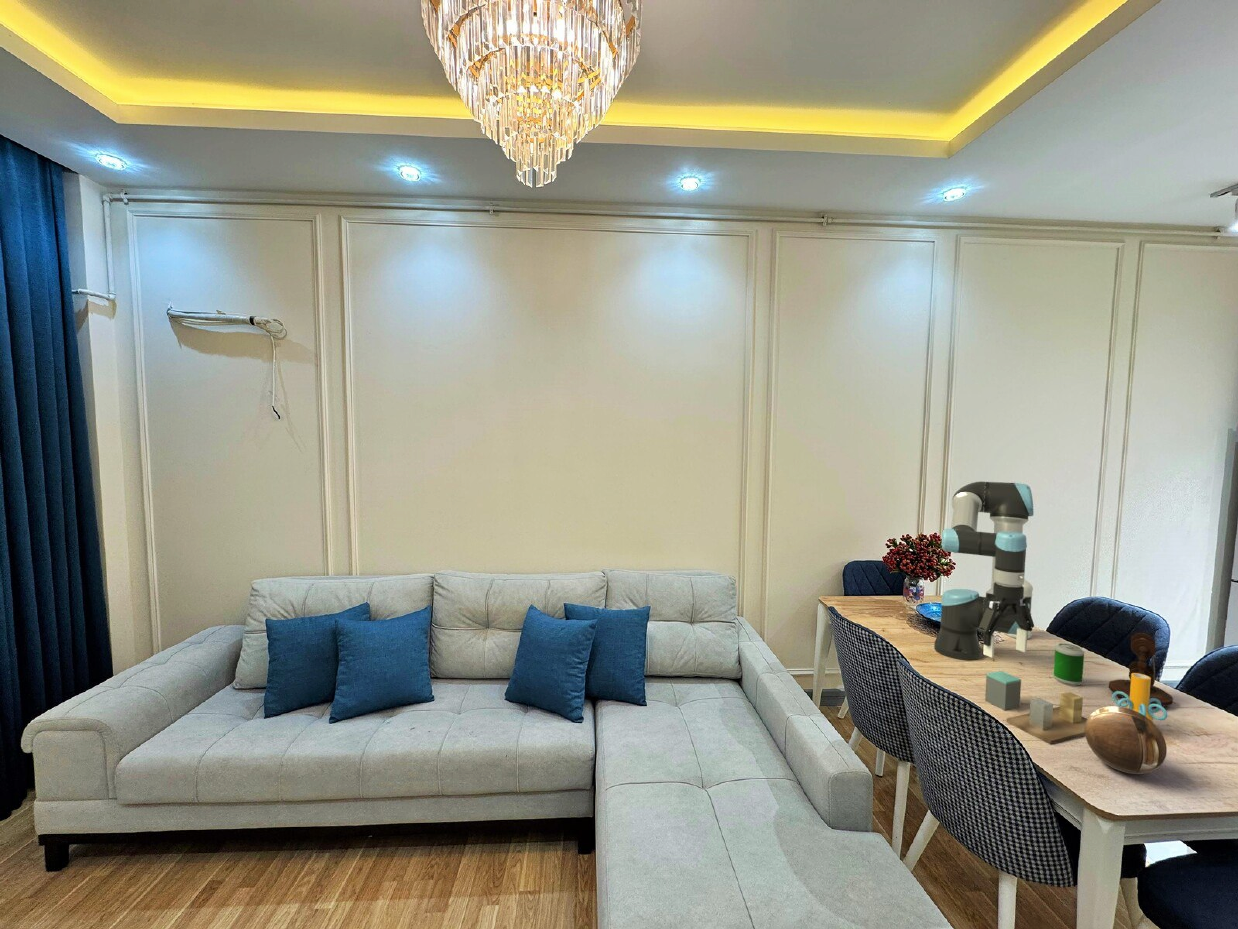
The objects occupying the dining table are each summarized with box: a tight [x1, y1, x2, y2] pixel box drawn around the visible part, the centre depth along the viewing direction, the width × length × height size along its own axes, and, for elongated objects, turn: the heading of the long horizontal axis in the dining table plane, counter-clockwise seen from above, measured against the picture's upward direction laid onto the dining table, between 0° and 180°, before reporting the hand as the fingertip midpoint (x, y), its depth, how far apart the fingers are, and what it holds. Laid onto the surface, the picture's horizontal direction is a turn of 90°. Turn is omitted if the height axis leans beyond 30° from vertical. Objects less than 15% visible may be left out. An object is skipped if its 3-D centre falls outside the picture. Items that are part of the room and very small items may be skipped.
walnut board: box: [1006, 691, 1088, 745], centre depth 158 cm, size 12×22×8 cm, turn 109°
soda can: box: [1053, 642, 1085, 687], centre depth 186 cm, size 8×8×12 cm
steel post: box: [1029, 697, 1054, 731], centre depth 156 cm, size 4×4×7 cm
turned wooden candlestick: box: [1107, 632, 1174, 711], centre depth 174 cm, size 15×15×20 cm
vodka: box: [1004, 572, 1034, 640], centre depth 226 cm, size 9×9×30 cm
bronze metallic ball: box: [1085, 705, 1168, 775], centre depth 139 cm, size 15×15×15 cm
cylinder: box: [1111, 673, 1168, 723], centre depth 157 cm, size 12×10×15 cm
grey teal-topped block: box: [984, 670, 1022, 711], centre depth 171 cm, size 6×6×9 cm
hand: (1005, 653), depth 170 cm, fingers open, 13 cm apart
